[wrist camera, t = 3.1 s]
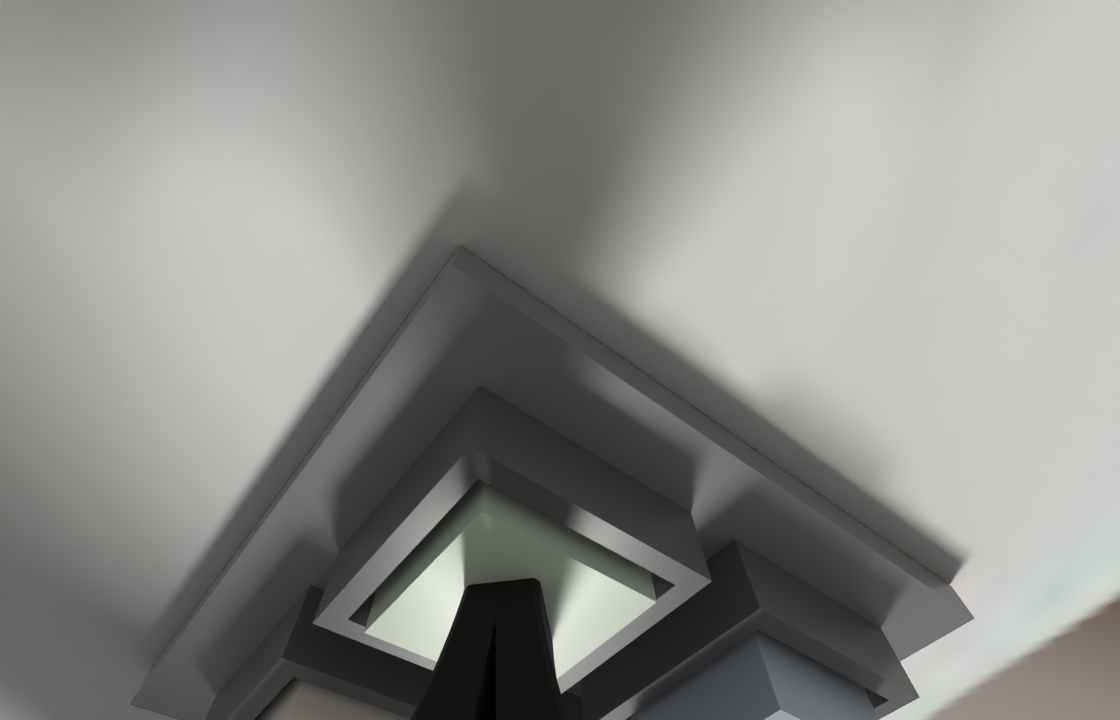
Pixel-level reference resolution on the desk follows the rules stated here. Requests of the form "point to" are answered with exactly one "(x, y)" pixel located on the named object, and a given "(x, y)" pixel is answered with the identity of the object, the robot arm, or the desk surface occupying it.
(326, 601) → the keypad
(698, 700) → the slate key
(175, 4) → the desk surface
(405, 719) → the cream key
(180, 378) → the desk surface
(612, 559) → the sage key
